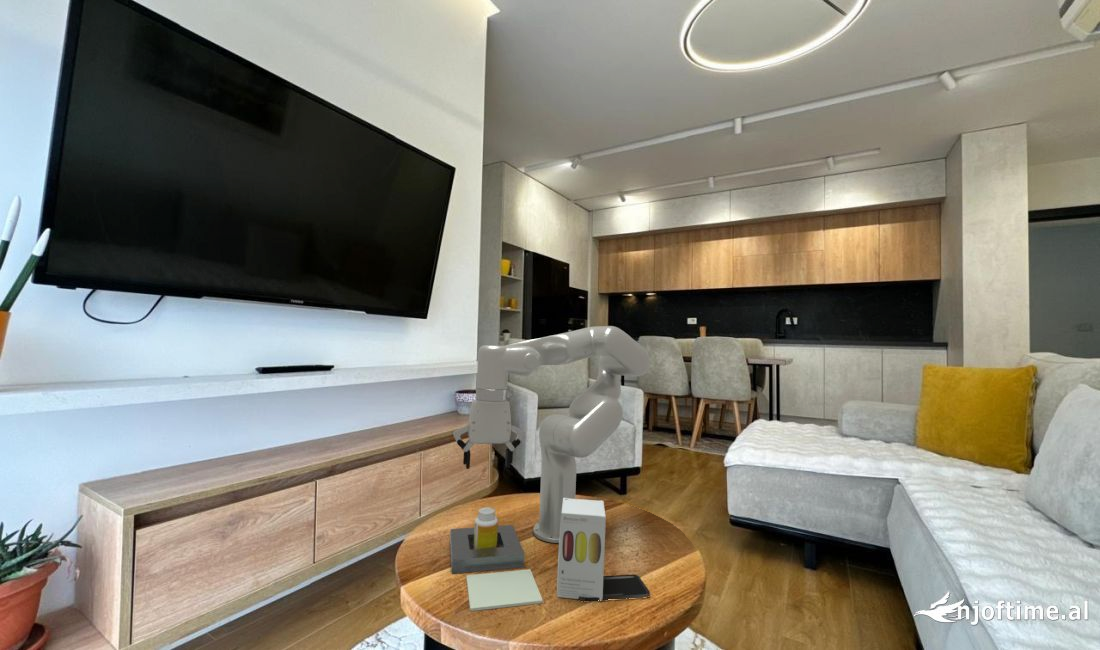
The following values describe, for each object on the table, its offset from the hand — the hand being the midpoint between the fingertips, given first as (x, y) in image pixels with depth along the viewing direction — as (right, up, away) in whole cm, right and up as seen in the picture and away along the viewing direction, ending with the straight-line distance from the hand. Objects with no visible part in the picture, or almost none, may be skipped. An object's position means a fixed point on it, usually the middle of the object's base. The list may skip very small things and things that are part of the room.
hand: (487, 467), depth 104 cm
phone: (+28, -22, -14) cm, 38 cm away
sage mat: (+5, -20, -16) cm, 26 cm away
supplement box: (+21, -21, -14) cm, 33 cm away
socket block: (-1, -21, -1) cm, 21 cm away
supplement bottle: (-1, -21, -1) cm, 21 cm away
